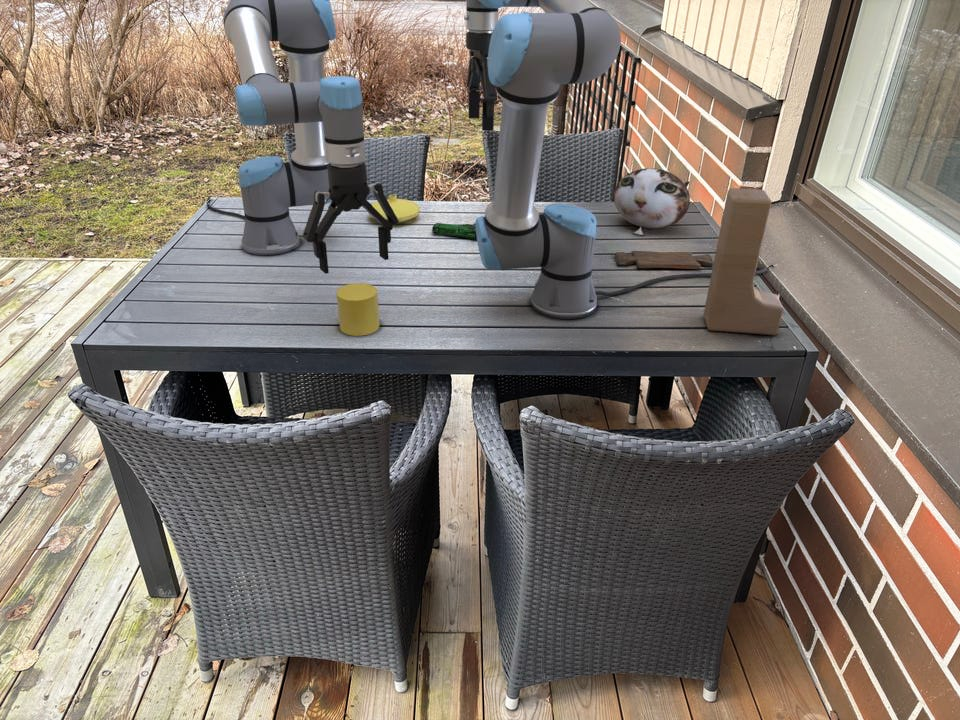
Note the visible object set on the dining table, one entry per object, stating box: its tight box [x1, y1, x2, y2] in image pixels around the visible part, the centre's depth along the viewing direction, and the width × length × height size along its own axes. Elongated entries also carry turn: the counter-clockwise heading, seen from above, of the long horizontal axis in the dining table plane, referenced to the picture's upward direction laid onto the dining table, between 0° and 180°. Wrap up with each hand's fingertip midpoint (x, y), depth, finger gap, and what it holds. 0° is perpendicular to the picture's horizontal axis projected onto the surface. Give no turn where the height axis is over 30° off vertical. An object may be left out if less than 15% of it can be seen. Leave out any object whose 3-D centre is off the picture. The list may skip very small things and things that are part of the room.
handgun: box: [431, 222, 477, 241], centre depth 208 cm, size 16×3×15 cm
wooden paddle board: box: [614, 250, 714, 270], centre depth 190 cm, size 26×2×10 cm
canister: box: [335, 282, 381, 337], centre depth 155 cm, size 9×9×8 cm
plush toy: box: [613, 167, 691, 236], centre depth 209 cm, size 22×18×20 cm
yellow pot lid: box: [367, 194, 420, 223], centre depth 215 cm, size 16×16×7 cm
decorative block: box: [703, 187, 785, 336], centre depth 152 cm, size 8×15×30 cm, turn 82°
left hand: (354, 264), depth 149 cm, fingers open, 13 cm apart
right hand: (480, 124), depth 179 cm, fingers open, 13 cm apart
